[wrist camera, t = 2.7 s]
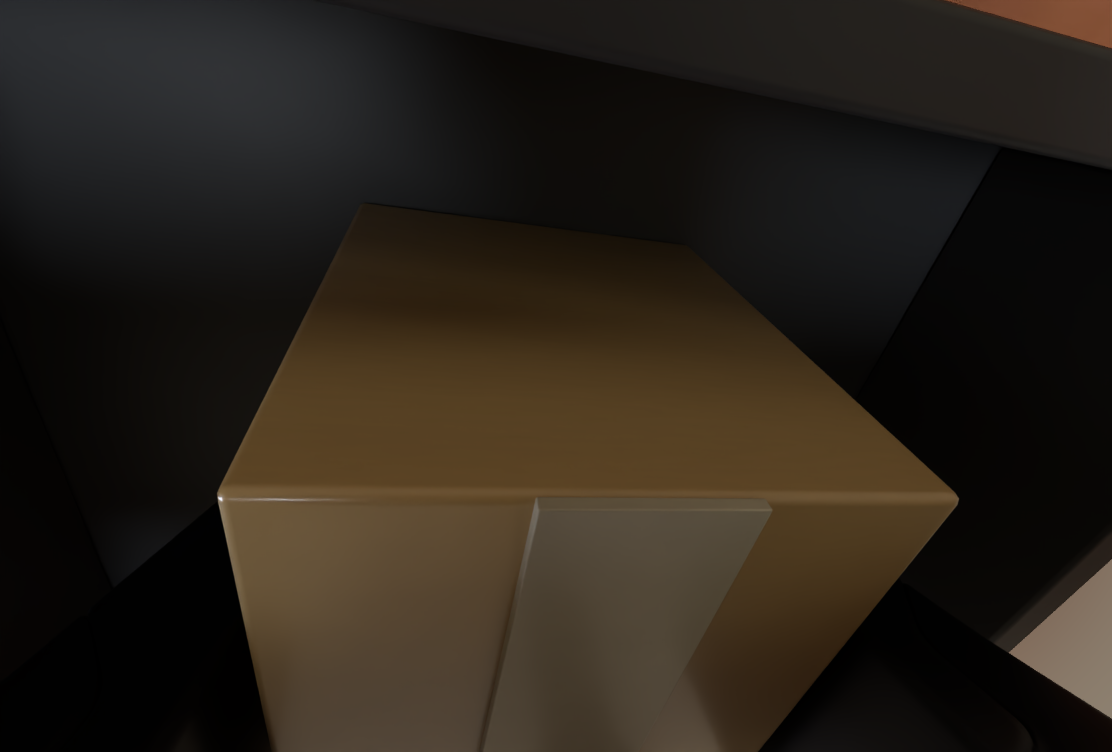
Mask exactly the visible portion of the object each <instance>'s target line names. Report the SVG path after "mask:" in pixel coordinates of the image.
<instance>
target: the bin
mask: <svg viewBox="0 0 1112 752" xmlns="http://www.w3.org/2000/svg"><path fill="white" fill-rule="evenodd" d="M364 203H367V204H374V205H382V206H390V207H397V208H405V209H413V210H420V211H428V212H435V213H443V214H451V215H458V216H466V217H474V218H481V219H489V220H497V221H504V222H512V223H519V224H527V225H535V226H542V227H550V228H558V229H565V230H573V231H580V232H588V233H596V234H603V235H611V236H619V237H626V238H634V239H641V240H649V241H657V242H664V243H672V244H680V245H686V246H688V247H689V248H690V249H691V250H692V251H694V252H695V253H696V254H697V255H698V256H699V257H700V258H701V259H702V260H703V261H704V262H705V263H707V264H708V265H709V266H710V267H711V268H712V269H713V270H714V271H715V272H716V273H717V274H718V275H720V276H721V277H722V278H723V279H724V280H725V281H726V282H727V283H728V284H729V285H730V286H731V287H733V288H734V289H735V290H736V291H737V292H738V293H739V294H740V295H741V296H742V297H743V298H745V299H746V300H747V301H748V302H749V303H750V304H751V305H752V306H753V307H754V308H755V309H756V310H758V311H759V312H760V313H761V314H762V315H763V316H764V317H765V318H766V319H767V320H768V321H769V322H771V323H772V324H773V325H774V326H775V327H776V328H777V329H778V330H779V331H780V332H781V333H782V334H784V335H785V336H786V337H787V338H788V339H789V340H790V341H791V342H792V343H793V344H794V345H796V346H797V347H798V348H799V349H800V350H801V351H802V352H803V353H804V354H805V355H806V356H807V357H809V358H810V359H811V360H812V361H813V362H814V363H815V364H816V365H817V366H818V367H819V368H820V369H822V370H823V371H824V372H825V373H826V374H827V375H828V376H829V377H830V378H831V379H832V380H833V381H835V382H836V383H837V384H838V385H839V386H840V387H841V388H842V389H843V390H844V391H845V392H846V393H848V394H849V395H850V396H851V397H852V398H853V399H854V400H855V401H856V402H857V403H858V404H860V405H861V406H862V407H863V408H864V409H865V410H866V411H867V412H868V413H869V414H870V415H871V416H873V417H874V418H875V419H876V420H877V421H878V422H879V423H880V424H881V425H882V426H883V427H884V428H886V429H887V430H888V431H889V432H890V433H891V434H892V435H893V436H894V437H895V438H896V439H897V440H899V441H900V442H901V443H902V444H903V445H904V446H905V447H906V448H907V449H908V450H909V451H911V452H912V453H913V454H914V455H915V456H916V457H917V458H918V459H919V460H920V461H921V462H922V463H924V464H925V465H926V466H927V467H928V468H929V469H930V470H931V471H932V472H933V473H934V474H935V475H937V476H938V477H939V478H940V479H941V480H942V481H943V482H944V483H945V484H946V485H947V486H948V487H950V488H951V489H952V490H953V491H954V492H955V493H956V495H957V497H958V498H959V500H958V504H957V506H956V507H955V508H954V510H953V511H952V512H951V513H950V515H949V516H948V517H947V518H946V520H945V521H944V522H943V523H942V525H941V526H940V527H939V528H938V530H937V531H936V532H935V533H934V535H933V536H932V537H931V538H930V539H929V541H928V542H927V543H926V544H925V546H924V547H923V548H922V549H921V551H920V552H919V553H918V554H917V556H916V557H915V558H914V559H913V561H912V562H911V563H910V564H909V565H908V567H907V568H906V569H905V570H904V572H903V573H902V574H901V575H900V577H899V579H900V580H901V582H902V583H906V584H908V585H910V586H911V587H912V588H914V589H915V590H917V591H918V592H919V593H921V594H922V595H924V596H925V597H927V598H928V599H929V600H931V601H932V602H934V603H935V604H936V605H938V606H939V607H941V608H942V609H944V610H945V611H947V612H948V613H950V614H951V615H952V616H954V617H955V618H957V619H958V620H960V621H961V622H963V623H964V624H966V625H967V626H969V627H970V628H971V629H973V630H974V631H976V632H977V633H979V634H980V635H982V636H983V637H985V638H986V639H988V640H989V641H991V642H993V643H994V644H996V645H997V646H999V647H1000V648H1002V649H1003V650H1005V651H1006V652H1008V653H1009V652H1010V651H1011V650H1012V649H1013V648H1014V647H1015V646H1016V645H1017V644H1018V643H1020V642H1021V641H1022V640H1023V639H1024V638H1025V637H1026V636H1027V635H1029V634H1030V633H1031V632H1032V631H1033V630H1034V629H1035V628H1036V627H1037V626H1038V625H1039V624H1041V623H1042V622H1043V621H1044V620H1045V619H1046V618H1047V617H1048V616H1049V615H1051V614H1052V613H1053V612H1054V611H1055V610H1056V609H1057V608H1058V607H1059V606H1061V605H1062V604H1063V603H1064V602H1065V601H1066V600H1067V599H1068V598H1069V597H1070V596H1072V595H1073V594H1074V593H1075V592H1076V591H1077V590H1078V589H1079V588H1080V587H1081V586H1083V585H1084V584H1085V583H1086V582H1087V581H1088V580H1089V579H1090V578H1091V577H1093V576H1094V575H1095V574H1096V573H1097V572H1098V571H1099V570H1100V569H1101V568H1102V567H1104V566H1105V565H1106V564H1107V563H1108V562H1109V561H1110V560H1111V559H1112V48H1108V47H1105V46H1101V45H1098V44H1094V43H1091V42H1087V41H1084V40H1080V39H1077V38H1074V37H1070V36H1067V35H1063V34H1060V33H1056V32H1053V31H1049V30H1046V29H1042V28H1039V27H1035V26H1032V25H1028V24H1025V23H1022V22H1018V21H1015V20H1011V19H1008V18H1004V17H1001V16H997V15H994V14H990V13H987V12H983V11H980V10H976V9H973V8H969V7H966V6H963V5H959V4H956V3H952V2H949V1H945V0H0V681H2V680H3V679H4V678H5V677H7V676H8V675H9V674H10V673H12V672H13V671H14V670H15V669H17V668H18V667H19V666H20V665H22V664H23V663H24V662H25V661H26V660H28V659H29V658H30V657H31V656H33V655H34V654H35V653H36V652H38V651H39V650H40V649H41V648H42V647H44V646H45V645H46V644H47V643H48V642H50V641H51V640H52V639H53V638H54V637H56V636H57V635H58V634H59V633H60V632H62V631H63V630H64V629H65V628H66V627H68V626H69V625H70V624H71V623H72V622H73V621H75V620H76V619H77V618H78V617H80V616H87V617H88V610H89V609H90V608H91V607H92V606H93V605H94V604H95V603H97V602H98V601H99V600H100V599H101V598H103V597H104V596H105V595H106V594H107V593H109V592H110V591H111V590H112V589H113V588H114V587H116V586H117V585H118V584H119V583H120V582H122V581H123V580H124V579H125V578H126V577H128V576H129V575H130V574H131V573H132V572H134V571H135V570H136V569H137V568H138V567H140V566H141V565H142V564H143V563H144V562H145V561H147V560H148V559H149V558H150V557H151V556H153V555H154V554H155V553H156V552H157V551H159V550H160V549H161V548H162V547H163V546H165V545H166V544H167V543H168V542H169V541H171V540H172V539H173V538H174V537H175V536H176V535H178V534H179V533H180V532H181V531H182V530H184V529H185V528H186V527H187V526H188V525H190V524H191V523H192V522H193V521H194V520H196V519H197V518H198V517H199V516H200V515H201V514H203V513H204V512H205V511H206V510H207V509H209V508H210V507H211V506H212V505H213V504H215V503H216V502H217V501H218V497H217V492H218V490H219V488H220V486H221V483H222V481H223V479H224V477H225V475H226V473H227V471H228V469H229V467H230V465H231V463H232V461H233V459H234V457H235V455H236V453H237V451H238V449H239V447H240V445H241V443H242V441H243V439H244V437H245V435H246V433H247V431H248V429H249V427H250V425H251V423H252V421H253V419H254V417H255V415H256V413H257V411H258V409H259V407H260V405H261V403H262V401H263V399H264V397H265V395H266V393H267V391H268V389H269V387H270V385H271V383H272V381H273V379H274V377H275V375H276V373H277V371H278V369H279V367H280V365H281V363H282V361H283V359H284V357H285V355H286V353H287V351H288V349H289V347H290V345H291V343H292V341H293V339H294V337H295V335H296V333H297V331H298V329H299V327H300V325H301V323H302V321H303V319H304V317H305V315H306V313H307V311H308V309H309V307H310V305H311V303H312V301H313V299H314V297H315V295H316V293H317V291H318V289H319V287H320V285H321V283H322V281H323V279H324V276H325V274H326V272H327V270H328V268H329V266H330V264H331V262H332V260H333V258H334V256H335V254H336V252H337V250H338V248H339V246H340V244H341V242H342V240H343V238H344V236H345V234H346V232H347V230H348V228H349V226H350V224H351V222H352V220H353V218H354V216H355V214H356V212H357V210H358V208H359V206H360V204H364ZM88 618H89V617H88Z"/></svg>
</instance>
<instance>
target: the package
mask: <svg viewBox="0 0 1112 752" xmlns="http://www.w3.org/2000/svg"><path fill="white" fill-rule="evenodd" d="M217 497H218V503H219V508H220V513H221V517H222V522H223V527H224V531H225V536H226V541H227V545H228V550H229V555H230V559H231V564H232V569H233V573H234V578H235V583H236V587H237V592H238V597H239V602H240V606H241V611H242V616H243V620H244V625H245V630H246V634H247V639H248V644H249V648H250V653H251V658H252V662H253V667H254V672H255V676H256V681H257V686H258V690H259V695H260V700H261V704H262V709H263V714H264V718H265V723H266V728H267V732H268V737H269V742H270V746H271V751H272V752H758V751H759V750H760V749H761V748H762V746H763V745H764V744H765V743H766V741H767V740H768V739H769V738H770V737H771V735H772V734H773V733H774V732H775V730H776V729H777V728H778V727H779V725H780V724H781V723H782V722H783V720H784V719H785V718H786V717H787V715H788V714H789V713H790V712H791V710H792V709H793V708H794V707H795V706H796V704H797V703H798V702H799V701H800V699H801V698H802V697H803V696H804V694H805V693H806V692H807V691H808V689H809V688H810V687H811V686H812V684H813V683H814V682H815V681H816V680H817V678H818V677H819V676H820V675H821V673H822V672H823V671H824V670H825V668H826V667H827V666H828V665H829V663H830V662H831V661H832V660H833V658H834V657H835V656H836V655H837V653H838V652H839V651H840V650H841V649H842V647H843V646H844V645H845V644H846V642H847V641H848V640H849V639H850V637H851V636H852V635H853V634H854V632H855V631H856V630H857V629H858V627H859V626H860V625H861V624H862V623H863V621H864V620H865V619H866V618H867V616H868V615H869V614H870V613H871V611H872V610H873V609H874V608H875V606H876V605H877V604H878V603H879V601H880V600H881V599H882V598H883V596H884V595H885V594H886V593H887V592H888V590H889V589H890V588H891V587H892V585H893V584H894V583H895V582H896V580H897V579H898V578H899V577H900V575H901V574H902V573H903V572H904V570H905V569H906V568H907V567H908V565H909V564H910V563H911V562H912V561H913V559H914V558H915V557H916V556H917V554H918V553H919V552H920V551H921V549H922V548H923V547H924V546H925V544H926V543H927V542H928V541H929V539H930V538H931V537H932V536H933V535H934V533H935V532H936V531H937V530H938V528H939V527H940V526H941V525H942V523H943V522H944V521H945V520H946V518H947V517H948V516H949V515H950V513H951V512H952V511H953V510H954V508H955V507H956V506H957V504H958V500H959V498H958V497H957V495H956V493H955V492H954V491H953V490H952V489H951V488H950V487H948V486H947V485H946V484H945V483H944V482H943V481H942V480H941V479H940V478H939V477H938V476H937V475H935V474H934V473H933V472H932V471H931V470H930V469H929V468H928V467H927V466H926V465H925V464H924V463H922V462H921V461H920V460H919V459H918V458H917V457H916V456H915V455H914V454H913V453H912V452H911V451H909V450H908V449H907V448H906V447H905V446H904V445H903V444H902V443H901V442H900V441H899V440H897V439H896V438H895V437H894V436H893V435H892V434H891V433H890V432H889V431H888V430H887V429H886V428H884V427H883V426H882V425H881V424H880V423H879V422H878V421H877V420H876V419H875V418H874V417H873V416H871V415H870V414H869V413H868V412H867V411H866V410H865V409H864V408H863V407H862V406H861V405H860V404H858V403H857V402H856V401H855V400H854V399H853V398H852V397H851V396H850V395H849V394H848V393H846V392H845V391H844V390H843V389H842V388H841V387H840V386H839V385H838V384H837V383H836V382H835V381H833V380H832V379H831V378H830V377H829V376H828V375H827V374H826V373H825V372H824V371H823V370H822V369H820V368H819V367H818V366H817V365H816V364H815V363H814V362H813V361H812V360H811V359H810V358H809V357H807V356H806V355H805V354H804V353H803V352H802V351H801V350H800V349H799V348H798V347H797V346H796V345H794V344H793V343H792V342H791V341H790V340H789V339H788V338H787V337H786V336H785V335H784V334H782V333H781V332H780V331H779V330H778V329H777V328H776V327H775V326H774V325H773V324H772V323H771V322H769V321H768V320H767V319H766V318H765V317H764V316H763V315H762V314H761V313H760V312H759V311H758V310H756V309H755V308H754V307H753V306H752V305H751V304H750V303H749V302H748V301H747V300H746V299H745V298H743V297H742V296H741V295H740V294H739V293H738V292H737V291H736V290H735V289H734V288H733V287H731V286H730V285H729V284H728V283H727V282H726V281H725V280H724V279H723V278H722V277H721V276H720V275H718V274H717V273H716V272H715V271H714V270H713V269H712V268H711V267H710V266H709V265H708V264H707V263H705V262H704V261H703V260H702V259H701V258H700V257H699V256H698V255H697V254H696V253H695V252H694V251H692V250H691V249H690V248H689V247H688V246H686V245H680V244H672V243H664V242H657V241H649V240H641V239H634V238H626V237H619V236H611V235H603V234H596V233H588V232H580V231H573V230H565V229H558V228H550V227H542V226H535V225H527V224H519V223H512V222H504V221H497V220H489V219H481V218H474V217H466V216H458V215H451V214H443V213H435V212H428V211H420V210H413V209H405V208H397V207H390V206H382V205H374V204H367V203H364V204H360V206H359V208H358V210H357V212H356V214H355V216H354V218H353V220H352V222H351V224H350V226H349V228H348V230H347V232H346V234H345V236H344V238H343V240H342V242H341V244H340V246H339V248H338V250H337V252H336V254H335V256H334V258H333V260H332V262H331V264H330V266H329V268H328V270H327V272H326V274H325V276H324V279H323V281H322V283H321V285H320V287H319V289H318V291H317V293H316V295H315V297H314V299H313V301H312V303H311V305H310V307H309V309H308V311H307V313H306V315H305V317H304V319H303V321H302V323H301V325H300V327H299V329H298V331H297V333H296V335H295V337H294V339H293V341H292V343H291V345H290V347H289V349H288V351H287V353H286V355H285V357H284V359H283V361H282V363H281V365H280V367H279V369H278V371H277V373H276V375H275V377H274V379H273V381H272V383H271V385H270V387H269V389H268V391H267V393H266V395H265V397H264V399H263V401H262V403H261V405H260V407H259V409H258V411H257V413H256V415H255V417H254V419H253V421H252V423H251V425H250V427H249V429H248V431H247V433H246V435H245V437H244V439H243V441H242V443H241V445H240V447H239V449H238V451H237V453H236V455H235V457H234V459H233V461H232V463H231V465H230V467H229V469H228V471H227V473H226V475H225V477H224V479H223V481H222V483H221V486H220V488H219V490H218V492H217Z"/></svg>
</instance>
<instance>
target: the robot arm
mask: <svg viewBox="0 0 1112 752" xmlns="http://www.w3.org/2000/svg"><path fill="white" fill-rule="evenodd" d="M88 617H89V618H88ZM88 617H87V616H80V617H78V618H77V619H76V620H75V621H73V622H72V623H71V624H70V625H69V626H68V627H66V628H65V629H64V630H63V631H62V632H60V633H59V634H58V635H57V636H56V637H54V638H53V639H52V640H51V641H50V642H48V643H47V644H46V645H45V646H44V647H42V648H41V649H40V650H39V651H38V652H36V653H35V654H34V655H33V656H31V657H30V658H29V659H28V660H26V661H25V662H24V663H23V664H22V665H20V666H19V667H18V668H17V669H15V670H14V671H13V672H12V673H10V674H9V675H8V676H7V677H5V678H4V679H3V680H2V681H0V752H272V751H271V746H270V742H269V737H268V732H267V728H266V723H265V718H264V714H263V709H262V704H261V700H260V695H259V690H258V686H257V681H256V676H255V672H254V667H253V662H252V658H251V653H250V648H249V644H248V639H247V634H246V630H245V625H244V620H243V616H242V611H241V606H240V602H239V597H238V592H237V587H236V583H235V578H234V573H233V569H232V564H231V559H230V555H229V550H228V545H227V541H226V536H225V531H224V527H223V522H222V517H221V513H220V508H219V503H218V501H217V502H216V503H215V504H213V505H212V506H211V507H210V508H209V509H207V510H206V511H205V512H204V513H203V514H201V515H200V516H199V517H198V518H197V519H196V520H194V521H193V522H192V523H191V524H190V525H188V526H187V527H186V528H185V529H184V530H182V531H181V532H180V533H179V534H178V535H176V536H175V537H174V538H173V539H172V540H171V541H169V542H168V543H167V544H166V545H165V546H163V547H162V548H161V549H160V550H159V551H157V552H156V553H155V554H154V555H153V556H151V557H150V558H149V559H148V560H147V561H145V562H144V563H143V564H142V565H141V566H140V567H138V568H137V569H136V570H135V571H134V572H132V573H131V574H130V575H129V576H128V577H126V578H125V579H124V580H123V581H122V582H120V583H119V584H118V585H117V586H116V587H114V588H113V589H112V590H111V591H110V592H109V593H107V594H106V595H105V596H104V597H103V598H101V599H100V600H99V601H98V602H97V603H95V604H94V605H93V606H92V607H91V608H90V609H89V610H88ZM758 752H1112V719H1111V718H1110V717H1108V716H1107V715H1105V714H1103V713H1102V712H1100V711H1099V710H1097V709H1095V708H1094V707H1092V706H1091V705H1089V704H1088V703H1086V702H1085V701H1083V700H1081V699H1080V698H1078V697H1077V696H1075V695H1074V694H1072V693H1070V692H1069V691H1067V690H1066V689H1064V688H1063V687H1061V686H1059V685H1058V684H1056V683H1054V682H1053V681H1052V680H1050V679H1048V678H1047V677H1045V676H1044V675H1042V674H1040V673H1039V672H1037V671H1036V670H1034V669H1033V668H1031V667H1030V666H1028V665H1026V664H1025V663H1023V662H1022V661H1020V660H1019V659H1017V658H1016V657H1014V656H1013V655H1011V654H1009V653H1008V652H1006V651H1005V650H1003V649H1002V648H1000V647H999V646H997V645H996V644H994V643H993V642H991V641H989V640H988V639H986V638H985V637H983V636H982V635H980V634H979V633H977V632H976V631H974V630H973V629H971V628H970V627H969V626H967V625H966V624H964V623H963V622H961V621H960V620H958V619H957V618H955V617H954V616H952V615H951V614H950V613H948V612H947V611H945V610H944V609H942V608H941V607H939V606H938V605H936V604H935V603H934V602H932V601H931V600H929V599H928V598H927V597H925V596H924V595H922V594H921V593H919V592H918V591H917V590H915V589H914V588H912V587H911V586H910V585H908V584H906V583H902V582H901V580H900V579H899V578H898V579H897V580H896V582H895V583H894V584H893V585H892V587H891V588H890V589H889V590H888V592H887V593H886V594H885V595H884V596H883V598H882V599H881V600H880V601H879V603H878V604H877V605H876V606H875V608H874V609H873V610H872V611H871V613H870V614H869V615H868V616H867V618H866V619H865V620H864V621H863V623H862V624H861V625H860V626H859V627H858V629H857V630H856V631H855V632H854V634H853V635H852V636H851V637H850V639H849V640H848V641H847V642H846V644H845V645H844V646H843V647H842V649H841V650H840V651H839V652H838V653H837V655H836V656H835V657H834V658H833V660H832V661H831V662H830V663H829V665H828V666H827V667H826V668H825V670H824V671H823V672H822V673H821V675H820V676H819V677H818V678H817V680H816V681H815V682H814V683H813V684H812V686H811V687H810V688H809V689H808V691H807V692H806V693H805V694H804V696H803V697H802V698H801V699H800V701H799V702H798V703H797V704H796V706H795V707H794V708H793V709H792V710H791V712H790V713H789V714H788V715H787V717H786V718H785V719H784V720H783V722H782V723H781V724H780V725H779V727H778V728H777V729H776V730H775V732H774V733H773V734H772V735H771V737H770V738H769V739H768V740H767V741H766V743H765V744H764V745H763V746H762V748H761V749H760V750H759V751H758Z"/></svg>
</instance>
